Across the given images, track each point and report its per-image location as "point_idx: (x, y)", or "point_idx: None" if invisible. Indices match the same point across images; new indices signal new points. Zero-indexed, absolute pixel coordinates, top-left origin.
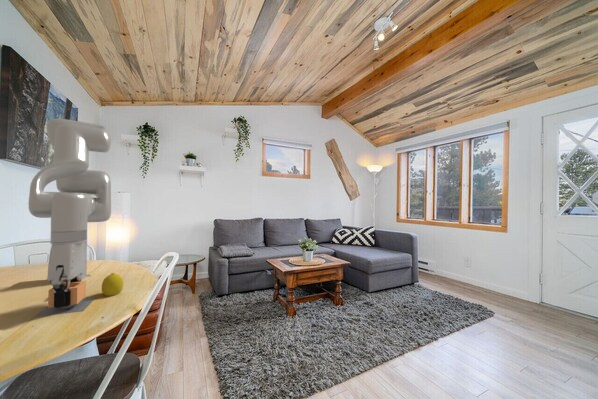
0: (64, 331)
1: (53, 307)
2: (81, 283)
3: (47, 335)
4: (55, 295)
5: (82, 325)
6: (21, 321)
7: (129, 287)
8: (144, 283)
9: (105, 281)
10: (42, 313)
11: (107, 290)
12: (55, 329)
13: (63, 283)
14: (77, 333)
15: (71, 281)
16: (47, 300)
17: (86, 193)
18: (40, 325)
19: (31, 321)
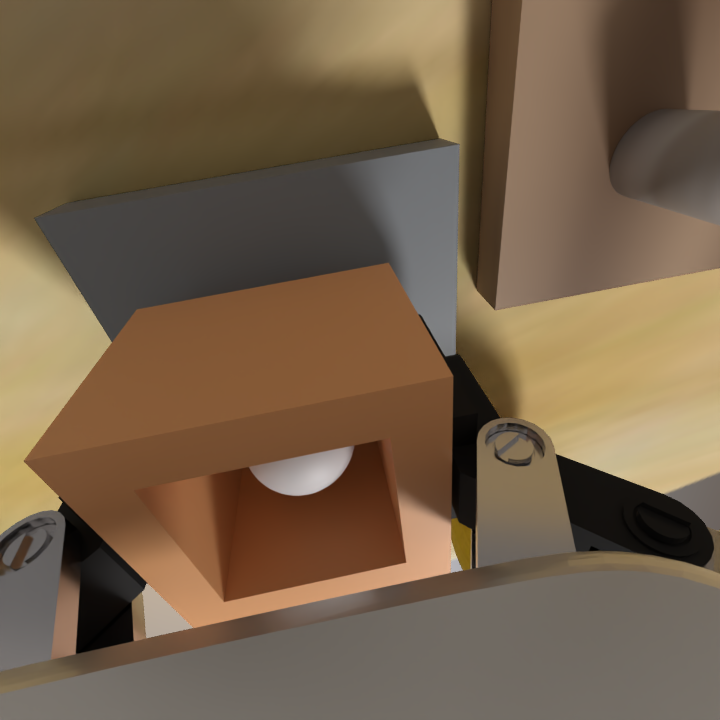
0: (8, 471)
1: (281, 252)
2: (358, 586)
3: None
4: None
5: None
6: (80, 26)
7: (649, 451)
8: (675, 487)
9: None
10: (134, 244)
11: (451, 523)
12: (15, 419)
13: (420, 433)
14: (8, 525)
15: (468, 489)
16: (542, 13)
17: None
18: (42, 292)
19: (98, 153)
